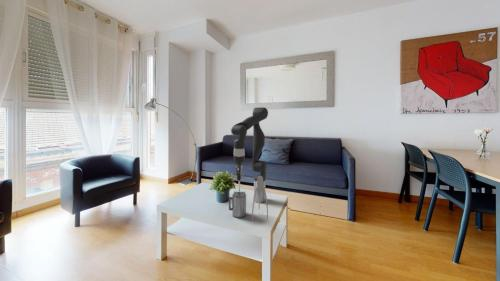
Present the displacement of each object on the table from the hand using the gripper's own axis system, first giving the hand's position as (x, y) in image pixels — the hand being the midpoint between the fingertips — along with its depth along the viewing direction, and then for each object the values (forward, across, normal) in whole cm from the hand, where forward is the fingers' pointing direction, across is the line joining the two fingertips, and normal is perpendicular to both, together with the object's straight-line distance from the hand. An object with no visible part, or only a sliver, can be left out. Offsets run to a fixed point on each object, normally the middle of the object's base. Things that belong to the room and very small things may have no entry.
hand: (239, 179), depth 139 cm
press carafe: (+26, 0, -1) cm, 26 cm away
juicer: (+26, +3, +14) cm, 30 cm away
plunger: (+14, 0, 0) cm, 14 cm away
